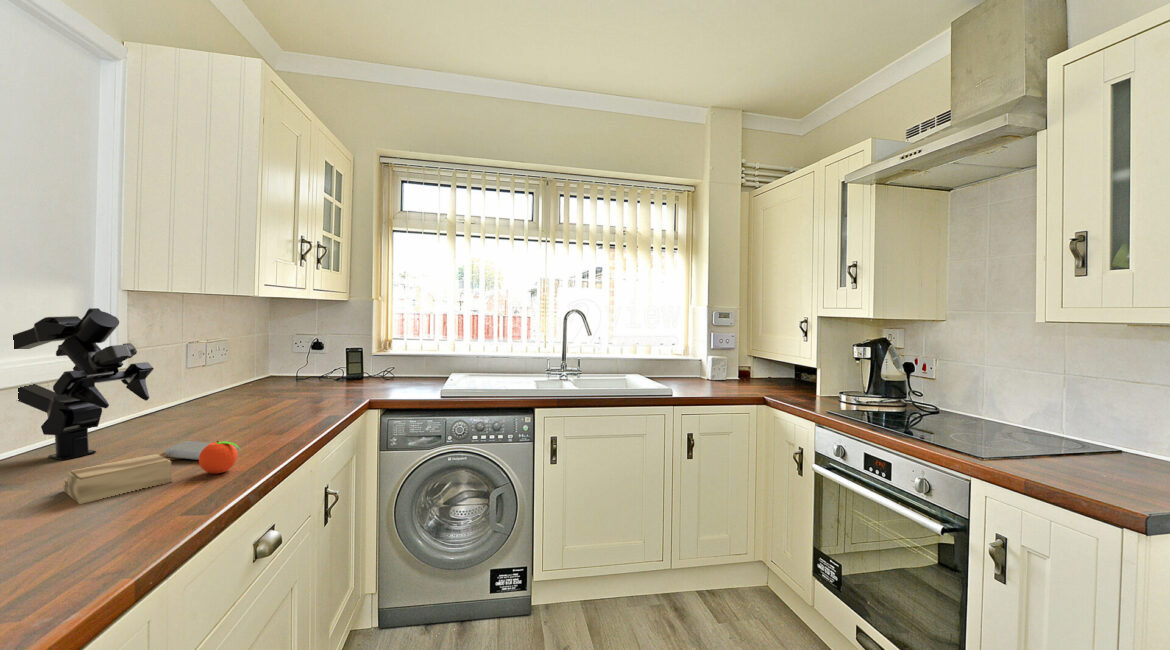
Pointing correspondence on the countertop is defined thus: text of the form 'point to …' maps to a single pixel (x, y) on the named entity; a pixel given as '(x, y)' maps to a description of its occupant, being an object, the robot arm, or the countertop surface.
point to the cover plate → (187, 449)
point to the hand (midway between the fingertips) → (128, 403)
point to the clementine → (218, 457)
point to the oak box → (117, 478)
